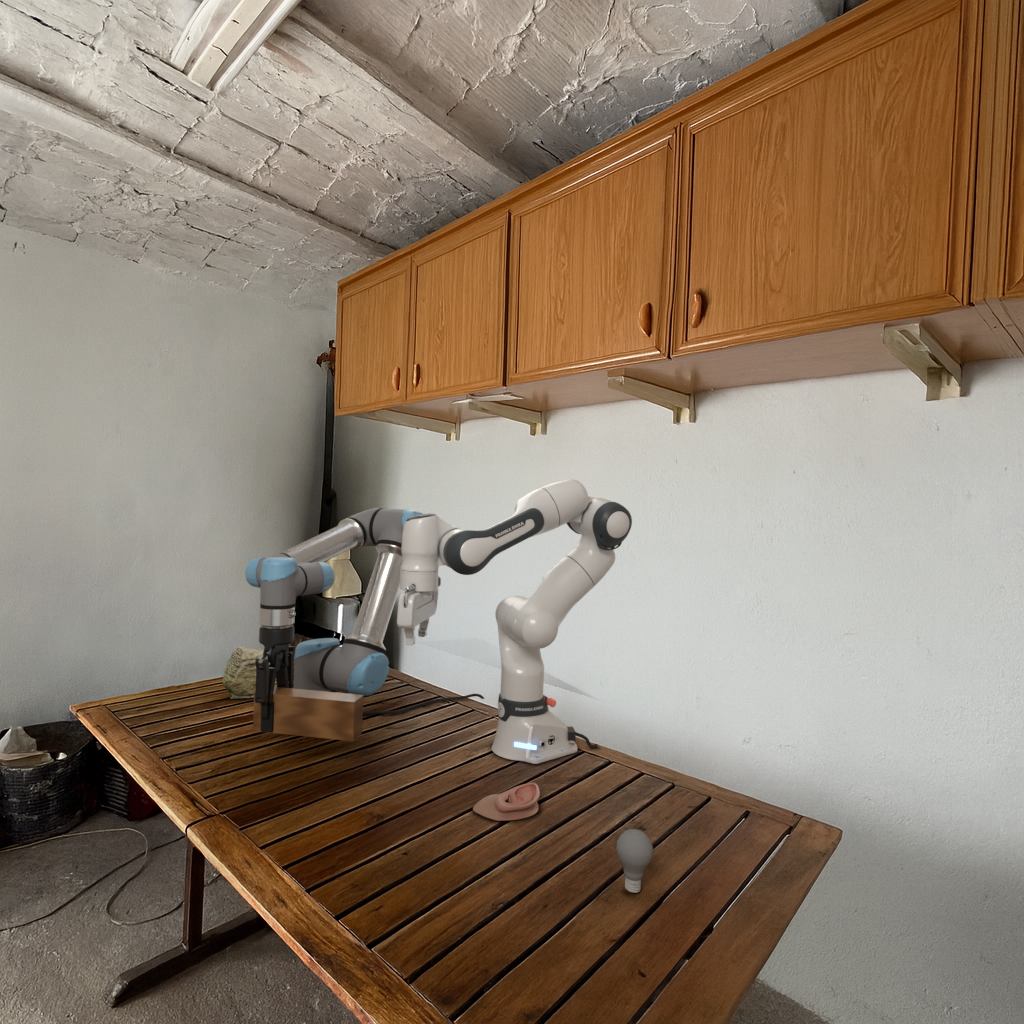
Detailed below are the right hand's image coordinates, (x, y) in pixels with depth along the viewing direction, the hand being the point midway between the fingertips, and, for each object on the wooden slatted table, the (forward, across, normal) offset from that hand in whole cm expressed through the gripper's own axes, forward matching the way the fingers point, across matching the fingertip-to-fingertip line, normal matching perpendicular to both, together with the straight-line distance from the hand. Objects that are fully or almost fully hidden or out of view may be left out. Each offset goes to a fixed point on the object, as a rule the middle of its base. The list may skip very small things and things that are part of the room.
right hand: (416, 640), depth 150 cm
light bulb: (+30, -38, -50) cm, 70 cm away
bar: (+20, -10, +22) cm, 31 cm away
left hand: (+20, -10, +30) cm, 37 cm away
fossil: (+30, +39, +63) cm, 80 cm away
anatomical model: (+30, -15, -25) cm, 42 cm away
